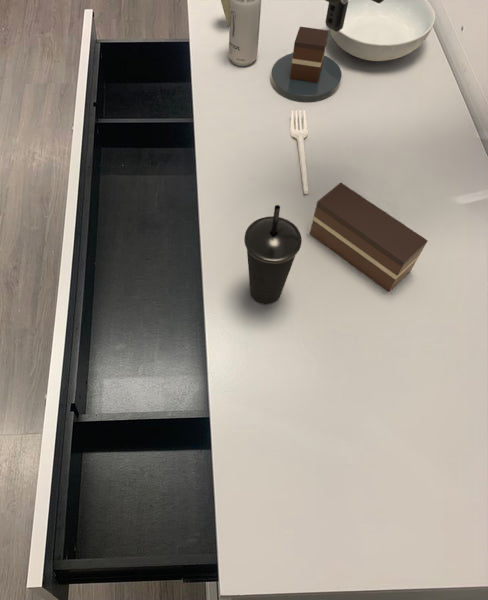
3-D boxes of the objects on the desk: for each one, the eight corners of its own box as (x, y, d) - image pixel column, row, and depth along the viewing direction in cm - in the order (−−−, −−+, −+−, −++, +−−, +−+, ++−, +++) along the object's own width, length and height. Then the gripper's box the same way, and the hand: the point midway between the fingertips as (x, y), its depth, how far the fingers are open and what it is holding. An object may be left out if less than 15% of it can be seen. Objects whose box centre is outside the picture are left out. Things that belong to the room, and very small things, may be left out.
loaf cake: (331, 215, 90) (340, 182, 83) (410, 271, 84) (428, 240, 77) (309, 233, 88) (317, 201, 81) (388, 292, 82) (404, 262, 75)
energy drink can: (225, 53, 114) (226, -18, 101) (251, 47, 114) (256, -25, 101) (233, 70, 111) (235, -1, 98) (261, 64, 111) (266, -8, 98)
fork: (296, 195, 93) (297, 188, 91) (288, 117, 103) (289, 109, 101) (315, 195, 92) (316, 187, 91) (305, 117, 103) (307, 109, 101)
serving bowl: (322, 14, 119) (327, -17, 113) (418, 16, 117) (429, -16, 111) (324, 73, 109) (330, 42, 103) (429, 76, 107) (442, 45, 101)
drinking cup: (249, 265, 86) (257, 178, 68) (295, 278, 84) (315, 192, 67) (234, 303, 82) (238, 221, 65) (282, 318, 80) (299, 238, 63)
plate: (333, 55, 112) (334, 49, 110) (346, 99, 104) (347, 93, 103) (267, 60, 112) (267, 53, 111) (275, 104, 105) (276, 98, 103)
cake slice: (322, 67, 108) (329, 30, 101) (317, 83, 105) (324, 46, 98) (294, 63, 109) (299, 26, 102) (289, 78, 106) (294, 41, 99)
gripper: (376, -103, 51) (342, 51, 65) (461, -152, 55) (412, 2, 69) (316, -126, 54) (296, 26, 68) (401, -171, 58) (366, -20, 72)
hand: (355, 13), depth 69 cm, fingers open, 8 cm apart
